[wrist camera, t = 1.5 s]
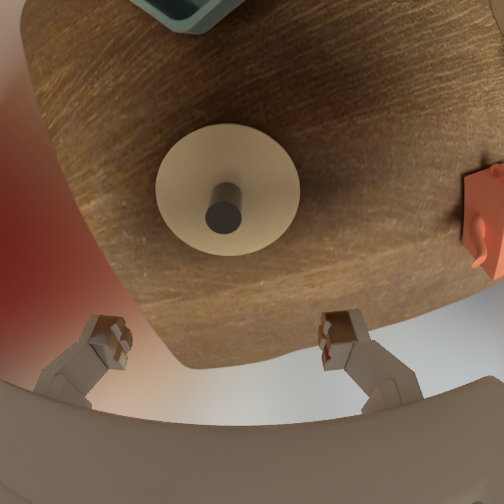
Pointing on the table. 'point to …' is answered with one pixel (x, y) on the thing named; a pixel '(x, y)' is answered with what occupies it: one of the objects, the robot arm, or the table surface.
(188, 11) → the flower pot
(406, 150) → the table surface
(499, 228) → the teapot
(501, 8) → the pot
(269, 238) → the lid
